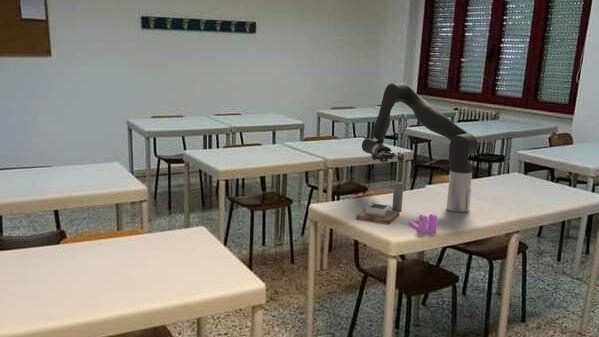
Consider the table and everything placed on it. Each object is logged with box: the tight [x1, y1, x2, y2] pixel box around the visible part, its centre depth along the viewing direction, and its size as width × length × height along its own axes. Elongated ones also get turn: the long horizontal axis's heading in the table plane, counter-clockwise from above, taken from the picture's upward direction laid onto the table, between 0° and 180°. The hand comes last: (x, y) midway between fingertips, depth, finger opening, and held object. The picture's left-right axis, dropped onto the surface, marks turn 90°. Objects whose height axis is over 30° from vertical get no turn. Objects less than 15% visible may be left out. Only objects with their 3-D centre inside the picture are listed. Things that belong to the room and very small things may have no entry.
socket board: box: [355, 202, 400, 225], centre depth 222 cm, size 14×14×4 cm
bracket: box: [408, 213, 438, 235], centre depth 210 cm, size 13×6×7 cm, turn 17°
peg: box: [391, 181, 404, 213], centre depth 232 cm, size 4×4×12 cm
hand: (392, 159), depth 240 cm, fingers open, 8 cm apart
